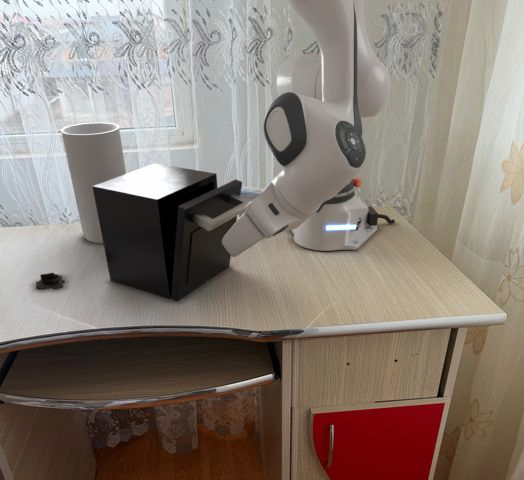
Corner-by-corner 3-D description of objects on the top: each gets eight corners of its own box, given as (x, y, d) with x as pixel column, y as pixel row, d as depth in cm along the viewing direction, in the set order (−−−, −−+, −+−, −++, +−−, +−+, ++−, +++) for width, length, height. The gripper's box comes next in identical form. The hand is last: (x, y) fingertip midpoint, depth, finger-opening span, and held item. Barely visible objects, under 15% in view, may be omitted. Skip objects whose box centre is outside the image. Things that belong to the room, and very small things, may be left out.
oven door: (245, 275, 116) (261, 190, 104) (194, 311, 104) (205, 219, 91) (223, 264, 118) (235, 179, 105) (170, 298, 105) (178, 206, 93)
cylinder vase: (82, 247, 128) (59, 136, 114) (84, 228, 138) (63, 124, 124) (136, 241, 130) (119, 132, 116) (134, 223, 140) (118, 121, 126)
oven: (222, 265, 118) (216, 173, 107) (170, 299, 106) (157, 199, 94) (165, 250, 125) (155, 163, 114) (110, 281, 113) (92, 186, 101)
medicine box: (272, 220, 140) (272, 187, 135) (269, 227, 137) (268, 193, 132) (243, 218, 142) (242, 186, 137) (239, 225, 138) (237, 191, 133)
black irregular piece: (33, 270, 112) (61, 265, 114) (36, 280, 114) (63, 275, 115) (34, 282, 108) (63, 277, 109) (37, 292, 109) (65, 287, 111)
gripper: (303, 171, 99) (259, 214, 108) (243, 205, 84) (198, 251, 94) (324, 199, 99) (278, 239, 109) (268, 237, 85) (221, 279, 95)
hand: (241, 245), depth 101 cm, fingers closed
